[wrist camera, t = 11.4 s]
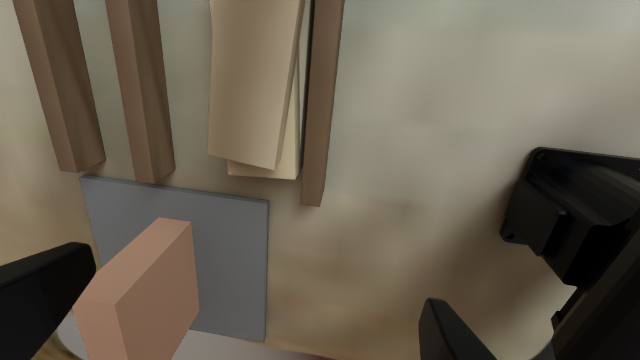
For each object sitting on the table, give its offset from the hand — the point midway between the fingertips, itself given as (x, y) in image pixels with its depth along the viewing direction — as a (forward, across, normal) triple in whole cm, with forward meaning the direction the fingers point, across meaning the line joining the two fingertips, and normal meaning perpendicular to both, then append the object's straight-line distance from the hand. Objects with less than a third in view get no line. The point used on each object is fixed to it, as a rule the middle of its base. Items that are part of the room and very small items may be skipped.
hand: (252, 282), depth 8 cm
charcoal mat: (+13, +10, +12) cm, 20 cm away
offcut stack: (+13, +3, -4) cm, 14 cm away
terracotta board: (+12, +10, +12) cm, 20 cm away
